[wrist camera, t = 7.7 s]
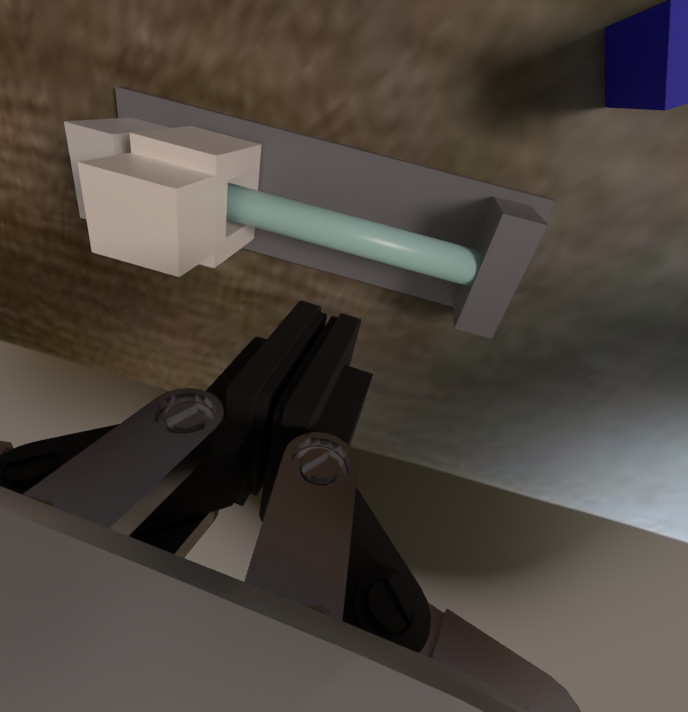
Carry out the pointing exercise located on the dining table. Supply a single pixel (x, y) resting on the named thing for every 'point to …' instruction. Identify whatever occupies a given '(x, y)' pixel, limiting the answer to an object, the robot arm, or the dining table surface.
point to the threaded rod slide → (355, 210)
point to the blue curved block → (648, 58)
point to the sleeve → (169, 198)
